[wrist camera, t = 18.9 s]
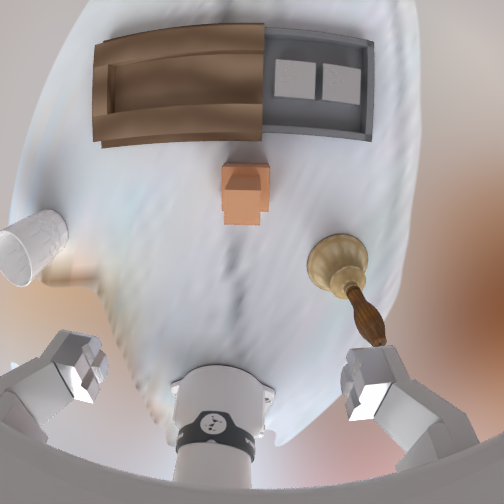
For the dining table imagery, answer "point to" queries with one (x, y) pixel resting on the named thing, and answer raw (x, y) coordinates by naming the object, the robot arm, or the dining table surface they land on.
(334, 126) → the tray
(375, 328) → the hand bell
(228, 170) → the stepped wedge block
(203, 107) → the slot board
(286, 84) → the light grey block
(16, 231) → the white cup
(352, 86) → the grey square block
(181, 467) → the robot arm
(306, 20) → the dining table surface
